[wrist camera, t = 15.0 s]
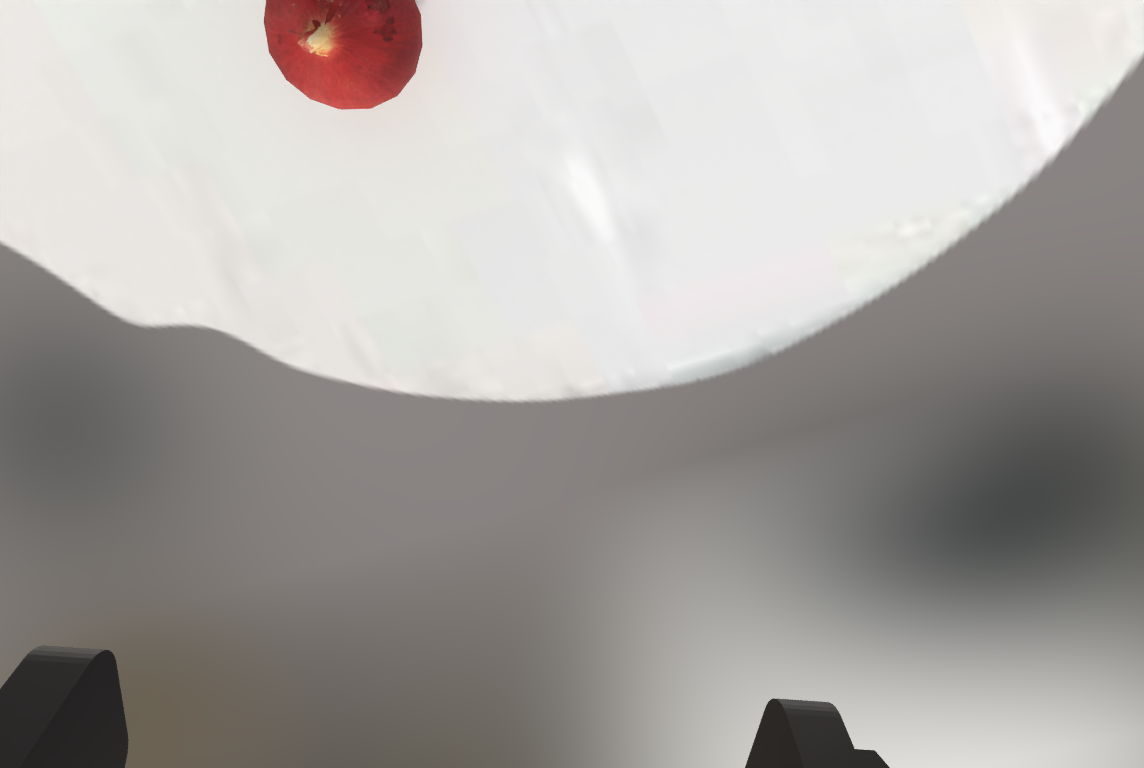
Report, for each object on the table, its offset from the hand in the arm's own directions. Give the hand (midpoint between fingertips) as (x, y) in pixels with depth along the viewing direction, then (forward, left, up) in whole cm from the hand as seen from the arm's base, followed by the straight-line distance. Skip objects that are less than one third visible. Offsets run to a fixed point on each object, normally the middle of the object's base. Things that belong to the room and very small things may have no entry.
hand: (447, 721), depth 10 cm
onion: (-7, +6, -30) cm, 32 cm away
